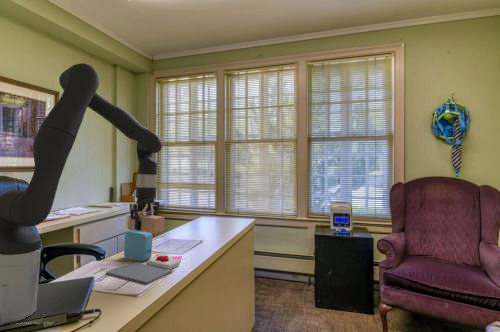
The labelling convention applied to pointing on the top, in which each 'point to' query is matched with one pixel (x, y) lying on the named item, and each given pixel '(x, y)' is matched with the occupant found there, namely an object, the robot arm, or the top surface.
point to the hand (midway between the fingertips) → (143, 228)
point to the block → (147, 223)
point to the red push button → (163, 262)
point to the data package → (138, 245)
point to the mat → (139, 272)
